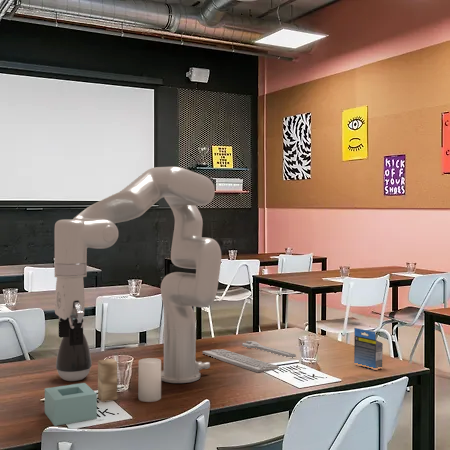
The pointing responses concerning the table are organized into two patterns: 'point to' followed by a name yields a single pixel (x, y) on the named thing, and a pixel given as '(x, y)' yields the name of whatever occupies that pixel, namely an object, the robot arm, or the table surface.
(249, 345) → the adjustable wrench
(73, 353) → the dark brown egg shape
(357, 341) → the label tape cartridge
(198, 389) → the table surface
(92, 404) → the bore block
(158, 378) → the white pillar candle
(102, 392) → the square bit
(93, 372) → the table surface
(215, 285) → the robot arm
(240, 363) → the keyboard
